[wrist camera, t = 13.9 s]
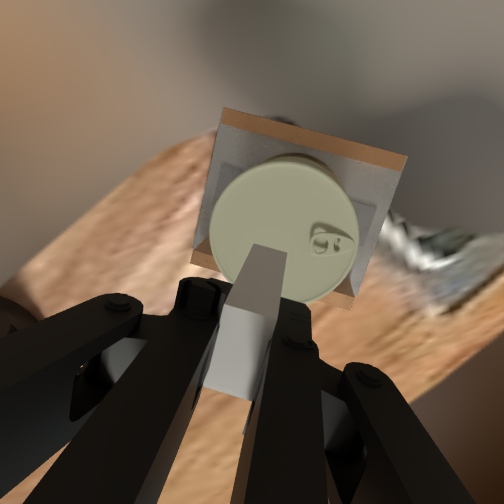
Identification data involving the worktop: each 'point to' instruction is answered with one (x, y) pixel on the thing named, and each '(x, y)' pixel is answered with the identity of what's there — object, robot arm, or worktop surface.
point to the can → (288, 224)
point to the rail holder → (316, 145)
